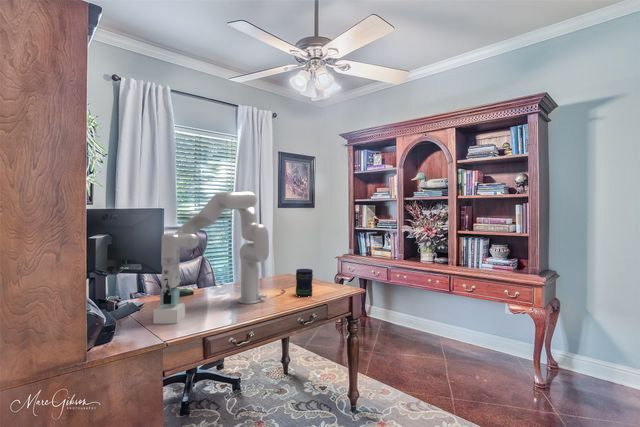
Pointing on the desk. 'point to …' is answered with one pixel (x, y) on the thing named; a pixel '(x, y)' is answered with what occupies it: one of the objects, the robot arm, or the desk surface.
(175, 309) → the cream block
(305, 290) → the storage jar
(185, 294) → the disk drive
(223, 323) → the desk surface
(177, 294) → the teal cube
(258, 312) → the desk surface
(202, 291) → the desk surface
